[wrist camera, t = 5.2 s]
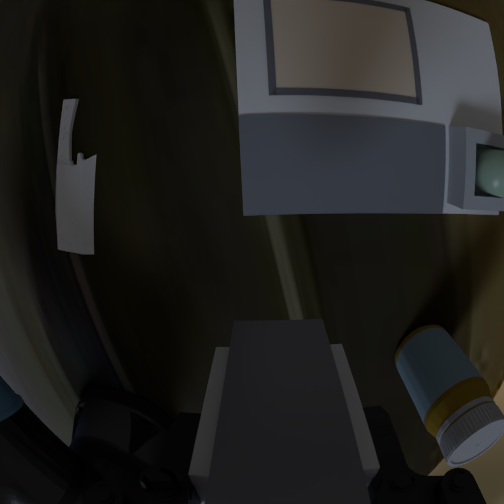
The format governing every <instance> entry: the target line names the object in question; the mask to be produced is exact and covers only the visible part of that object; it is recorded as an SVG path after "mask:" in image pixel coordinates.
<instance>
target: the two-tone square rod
mask: <svg viewBox="0 0 504 504" xmlns="http://www.w3.org/2000/svg"><path fill="white" fill-rule="evenodd" d="M204 504H371V502H370V498H369V493H368V488H367V484H366V480H365V475H364V471H363V467H362V462H361V458H360V454H359V450H358V446H357V442H356V438H355V434H354V430H353V426H352V422H351V418H350V414H349V411H348V407H347V403H346V399H345V396H344V392H343V388H342V385H341V381H340V378H339V374H338V370H337V367H336V363H335V360H334V356H333V353H332V350H331V346H330V343H329V339H328V336H327V333H326V329H325V326H324V323H323V319H308V320H276V321H234V324H233V330H232V336H231V342H230V348H229V354H228V360H227V366H226V372H225V378H224V384H223V391H222V397H221V403H220V409H219V415H218V421H217V427H216V434H215V440H214V446H213V452H212V459H211V465H210V471H209V478H208V484H207V490H206V497H205V503H204Z"/></svg>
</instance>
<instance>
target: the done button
mask: <svg viewBox="0 0 504 504" xmlns="http://www.w3.org/2000/svg"><path fill="white" fill-rule="evenodd" d="M475 186H476V187H477V188H478V189H479V190H480V191H483V192H486V193H489V194H493V195H496V196H499V197H502V198H504V151H502V150H494V149H485V148H483V149H480V150H478V151H477V152H476V174H475Z"/></svg>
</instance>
